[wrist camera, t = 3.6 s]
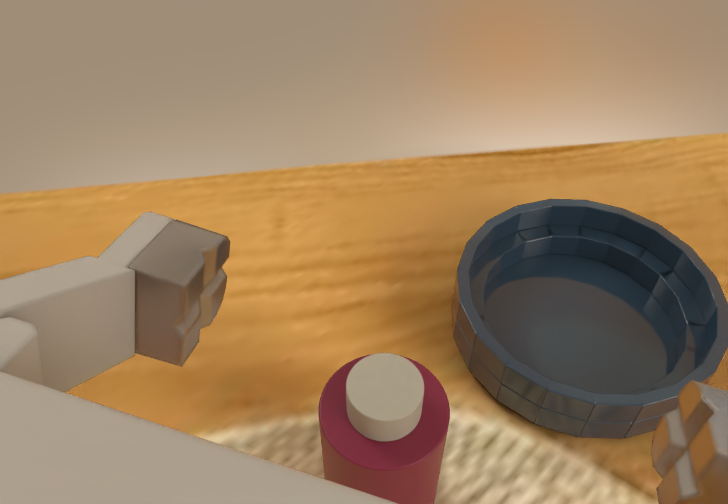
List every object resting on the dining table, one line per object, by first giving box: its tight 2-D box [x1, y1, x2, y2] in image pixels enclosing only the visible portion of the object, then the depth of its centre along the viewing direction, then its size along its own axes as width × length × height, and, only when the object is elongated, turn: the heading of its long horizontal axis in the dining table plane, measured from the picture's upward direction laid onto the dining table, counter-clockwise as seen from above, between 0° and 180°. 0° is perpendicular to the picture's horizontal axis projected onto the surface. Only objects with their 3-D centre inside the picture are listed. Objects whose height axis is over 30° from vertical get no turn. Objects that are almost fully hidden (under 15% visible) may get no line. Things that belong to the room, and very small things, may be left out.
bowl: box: [452, 199, 728, 439], centre depth 41 cm, size 15×15×4 cm
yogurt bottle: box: [319, 353, 450, 504], centre depth 31 cm, size 6×6×11 cm
